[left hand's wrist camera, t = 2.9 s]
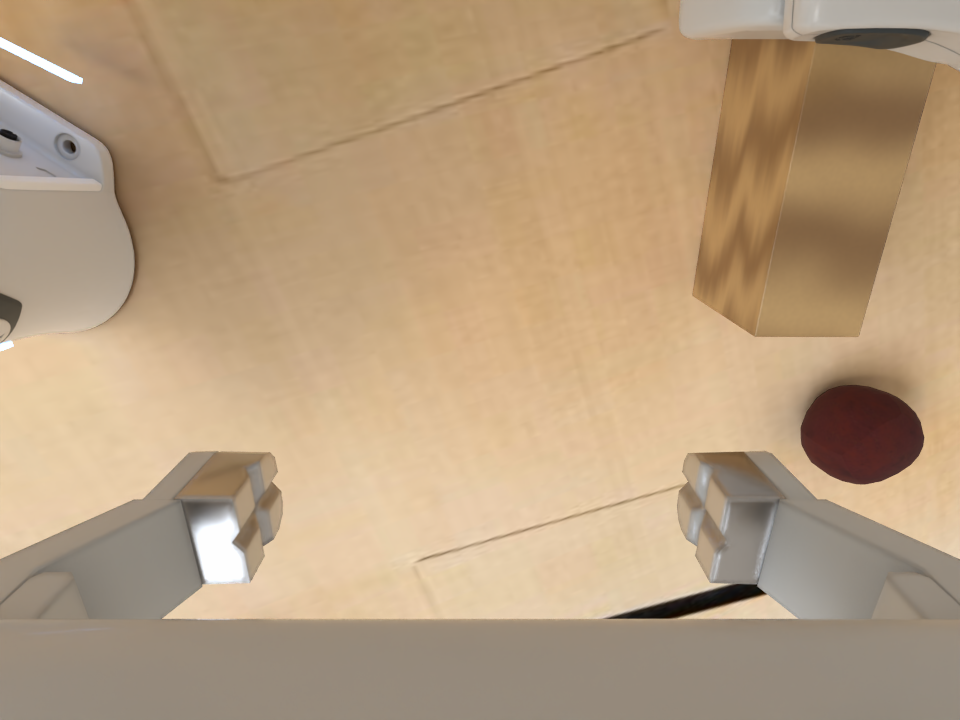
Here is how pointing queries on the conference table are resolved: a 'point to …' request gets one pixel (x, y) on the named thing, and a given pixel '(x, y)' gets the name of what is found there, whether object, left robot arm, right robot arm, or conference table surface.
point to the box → (806, 183)
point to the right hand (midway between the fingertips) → (823, 22)
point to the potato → (861, 434)
